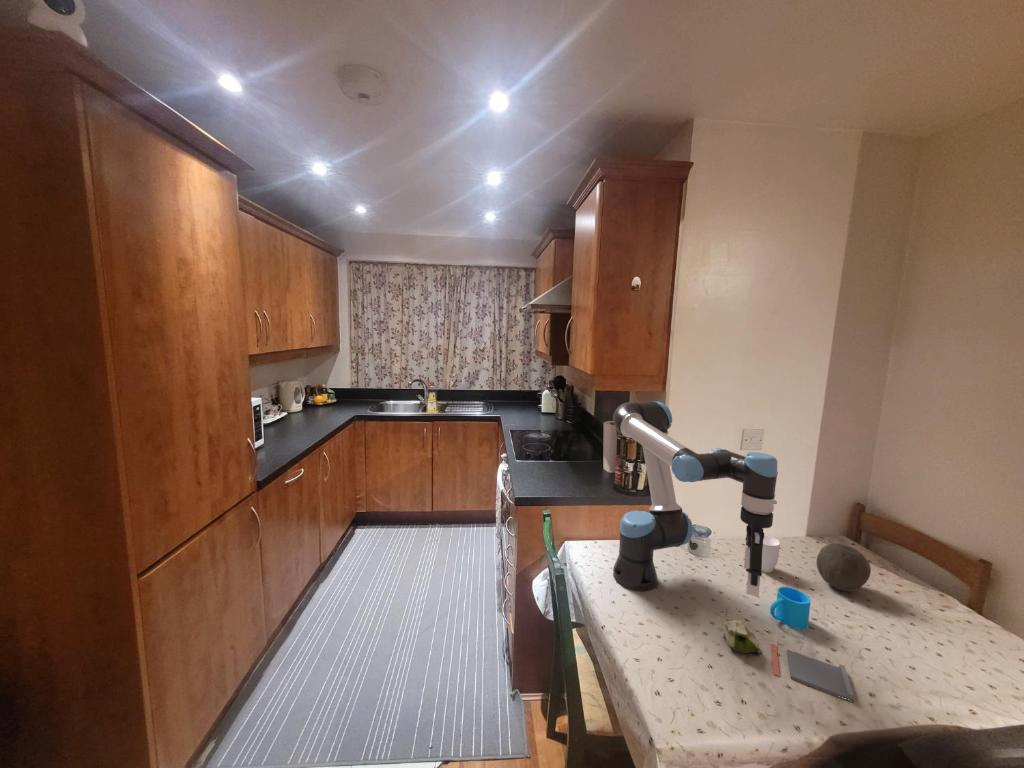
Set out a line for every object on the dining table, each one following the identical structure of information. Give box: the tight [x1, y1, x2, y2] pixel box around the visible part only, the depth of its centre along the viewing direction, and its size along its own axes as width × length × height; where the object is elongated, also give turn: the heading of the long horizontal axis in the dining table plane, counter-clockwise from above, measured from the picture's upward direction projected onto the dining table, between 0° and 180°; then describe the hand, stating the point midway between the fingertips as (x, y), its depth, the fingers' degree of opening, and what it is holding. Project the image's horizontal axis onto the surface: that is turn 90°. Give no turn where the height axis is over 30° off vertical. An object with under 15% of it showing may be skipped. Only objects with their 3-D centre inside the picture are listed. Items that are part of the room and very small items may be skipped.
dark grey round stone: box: [815, 543, 872, 592], centre depth 132 cm, size 14×14×15 cm
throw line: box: [770, 642, 781, 678], centre depth 101 cm, size 1×12×1 cm, turn 149°
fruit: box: [722, 619, 763, 654], centre depth 105 cm, size 9×9×8 cm
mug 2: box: [769, 586, 811, 630], centre depth 116 cm, size 12×8×8 cm
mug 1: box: [745, 534, 781, 573], centre depth 144 cm, size 12×9×12 cm
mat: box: [786, 649, 855, 703], centre depth 96 cm, size 12×10×2 cm
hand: (750, 581), depth 106 cm, fingers open, 13 cm apart
